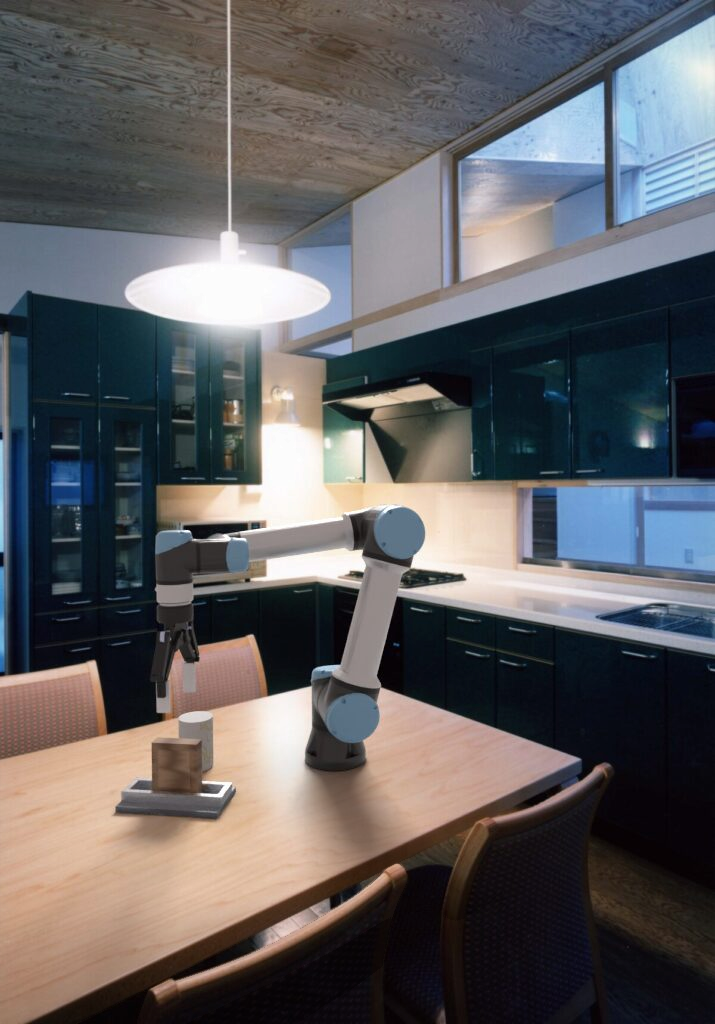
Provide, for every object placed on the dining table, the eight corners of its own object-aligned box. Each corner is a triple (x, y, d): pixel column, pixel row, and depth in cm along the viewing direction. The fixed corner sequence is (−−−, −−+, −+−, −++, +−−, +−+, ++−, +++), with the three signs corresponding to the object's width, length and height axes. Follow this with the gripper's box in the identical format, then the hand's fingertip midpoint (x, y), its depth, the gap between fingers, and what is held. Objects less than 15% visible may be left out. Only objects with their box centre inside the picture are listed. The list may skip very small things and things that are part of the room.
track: (235, 791, 145) (235, 777, 145) (217, 818, 133) (217, 803, 133) (141, 786, 147) (141, 772, 147) (115, 812, 136) (115, 797, 136)
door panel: (202, 794, 141) (201, 739, 141) (197, 800, 138) (196, 744, 138) (158, 791, 142) (157, 737, 142) (152, 798, 139) (151, 742, 139)
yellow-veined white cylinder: (204, 773, 154) (204, 723, 154) (173, 771, 156) (172, 721, 155) (218, 760, 162) (218, 712, 162) (188, 757, 164) (187, 710, 163)
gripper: (181, 593, 152) (183, 684, 152) (130, 613, 127) (133, 721, 128) (212, 593, 151) (214, 684, 151) (167, 614, 126) (169, 722, 127)
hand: (177, 701), depth 140 cm, fingers open, 13 cm apart
